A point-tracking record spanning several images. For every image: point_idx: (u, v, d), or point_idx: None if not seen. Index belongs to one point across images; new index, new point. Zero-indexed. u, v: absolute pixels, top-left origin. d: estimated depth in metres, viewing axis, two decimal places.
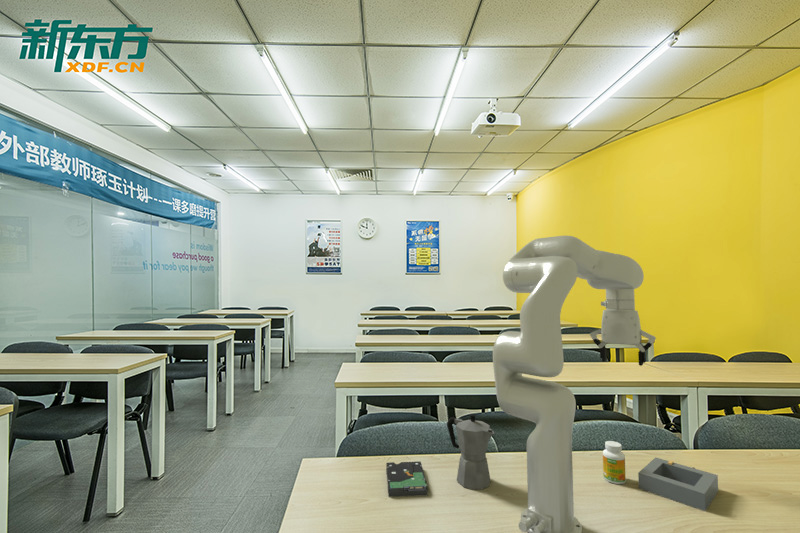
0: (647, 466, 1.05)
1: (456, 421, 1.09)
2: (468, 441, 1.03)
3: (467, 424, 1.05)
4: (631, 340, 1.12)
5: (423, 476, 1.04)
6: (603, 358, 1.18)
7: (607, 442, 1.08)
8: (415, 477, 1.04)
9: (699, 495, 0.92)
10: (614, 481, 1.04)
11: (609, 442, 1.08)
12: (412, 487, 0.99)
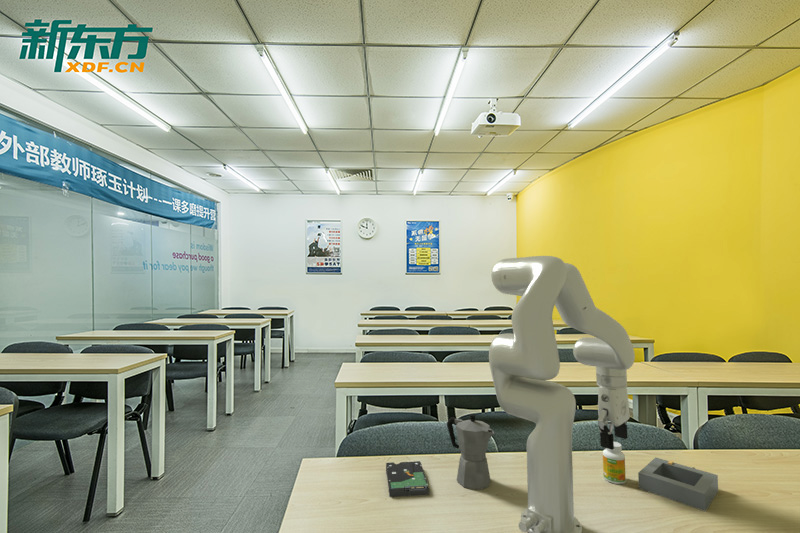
0: (647, 466, 1.05)
1: (456, 421, 1.09)
2: (468, 441, 1.03)
3: (467, 424, 1.05)
4: (628, 415, 1.07)
5: (423, 476, 1.04)
6: (613, 445, 1.03)
7: None
8: (415, 477, 1.04)
9: (699, 495, 0.92)
10: (614, 481, 1.04)
11: None
12: (413, 487, 0.99)
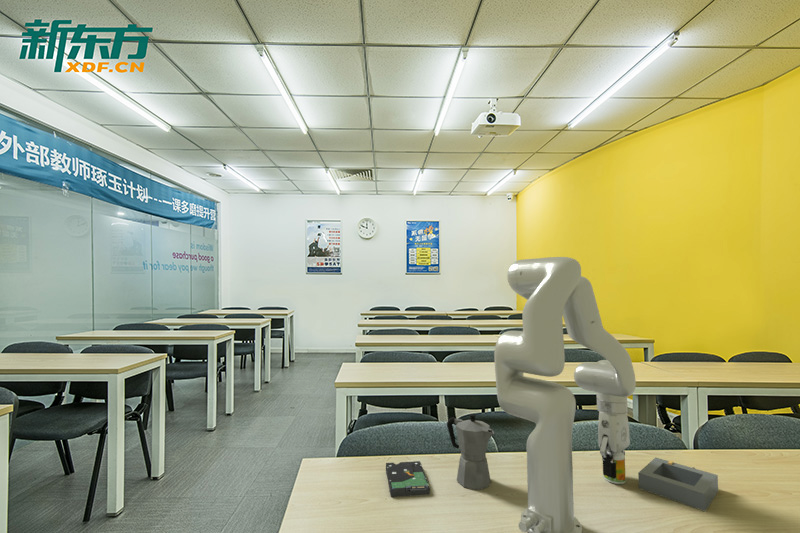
0: (647, 466, 1.05)
1: (456, 421, 1.09)
2: (468, 441, 1.03)
3: (467, 424, 1.05)
4: (628, 442, 1.07)
5: (424, 475, 1.05)
6: (615, 474, 1.03)
7: None
8: (416, 477, 1.04)
9: (699, 495, 0.92)
10: (614, 481, 1.04)
11: None
12: (414, 487, 0.99)
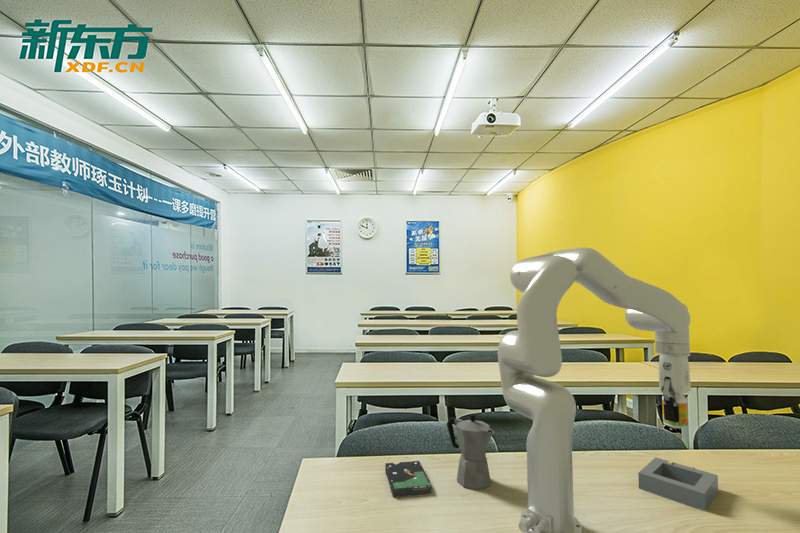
0: (647, 466, 1.05)
1: (456, 421, 1.09)
2: (468, 441, 1.03)
3: (467, 424, 1.05)
4: (689, 386, 1.02)
5: (425, 475, 1.05)
6: (678, 418, 0.99)
7: None
8: (417, 477, 1.04)
9: (699, 495, 0.92)
10: (677, 425, 0.99)
11: None
12: (416, 486, 0.99)
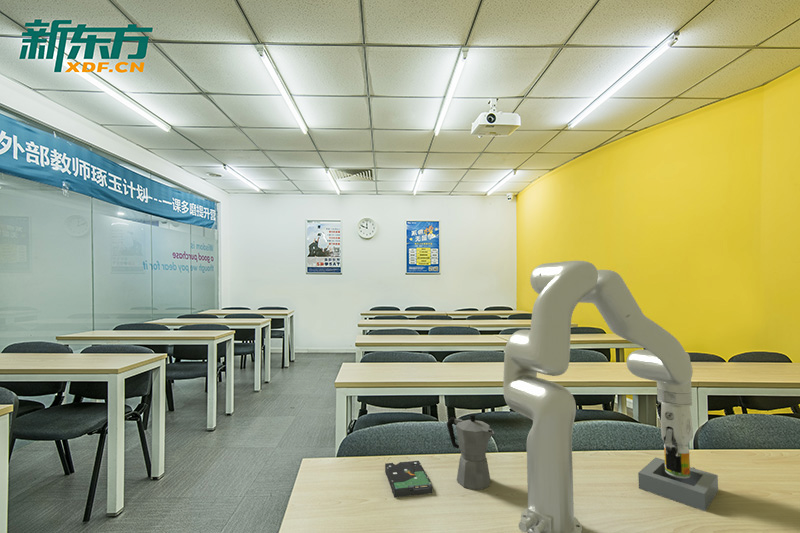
0: (647, 466, 1.05)
1: (456, 421, 1.09)
2: (468, 441, 1.03)
3: (467, 424, 1.05)
4: (691, 435, 1.02)
5: (425, 475, 1.05)
6: None
7: None
8: (418, 476, 1.04)
9: (699, 495, 0.92)
10: (679, 475, 0.99)
11: None
12: (417, 486, 0.99)
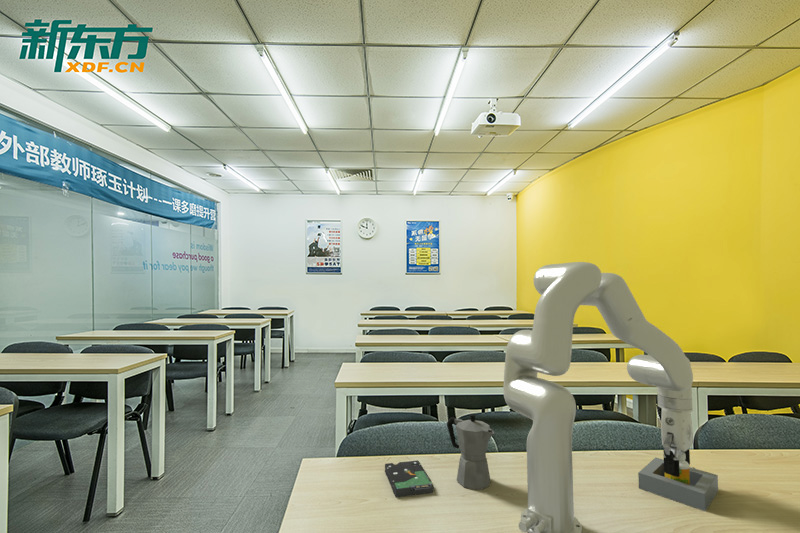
0: (647, 466, 1.05)
1: (456, 421, 1.09)
2: (468, 441, 1.03)
3: (467, 424, 1.05)
4: (692, 440, 1.01)
5: (425, 474, 1.05)
6: (679, 472, 0.97)
7: None
8: (418, 476, 1.04)
9: (699, 495, 0.92)
10: None
11: (671, 450, 1.02)
12: (418, 486, 0.99)
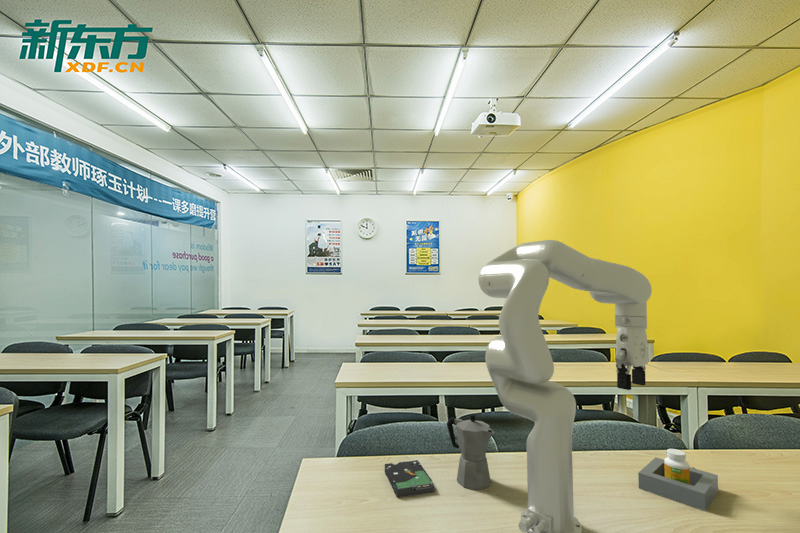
0: (647, 466, 1.05)
1: (456, 421, 1.09)
2: (468, 441, 1.03)
3: (467, 424, 1.05)
4: (646, 359, 1.04)
5: (426, 474, 1.05)
6: (630, 386, 1.00)
7: (669, 450, 1.02)
8: (419, 476, 1.04)
9: (699, 495, 0.92)
10: None
11: (671, 450, 1.02)
12: (419, 486, 0.99)
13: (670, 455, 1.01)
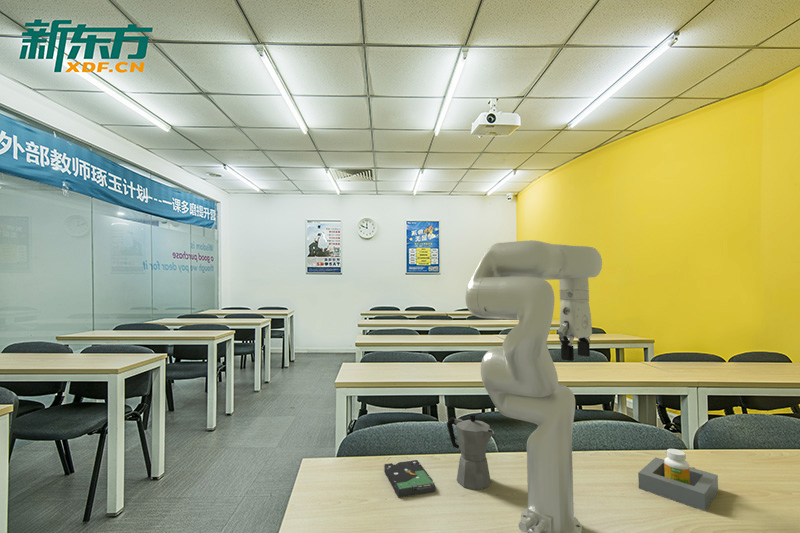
0: (647, 466, 1.05)
1: (456, 421, 1.09)
2: (468, 441, 1.03)
3: (467, 424, 1.05)
4: (590, 331, 1.08)
5: (426, 474, 1.06)
6: (573, 357, 1.03)
7: (669, 450, 1.02)
8: (419, 476, 1.04)
9: (699, 495, 0.92)
10: None
11: (671, 450, 1.02)
12: (420, 485, 0.99)
13: (670, 455, 1.01)
